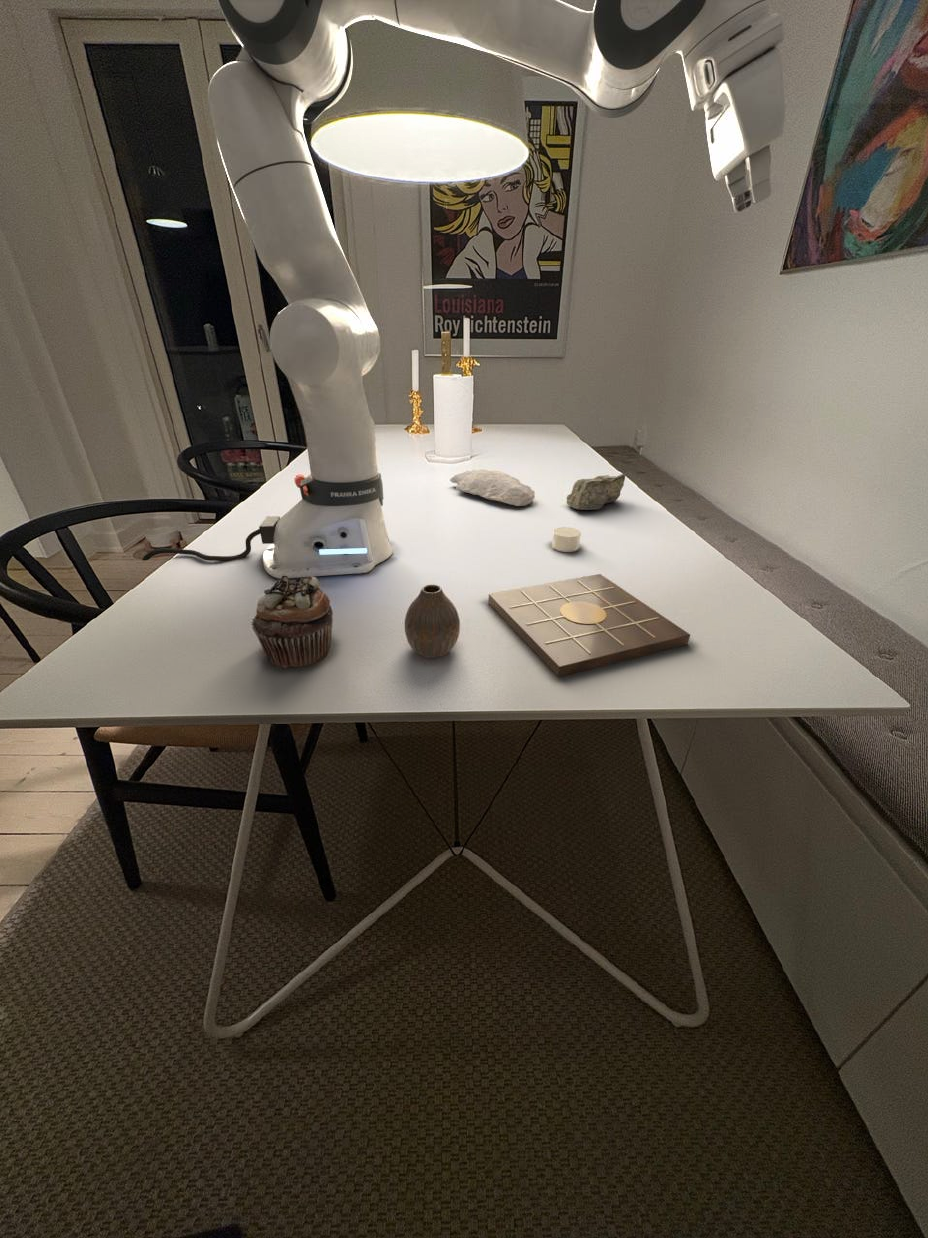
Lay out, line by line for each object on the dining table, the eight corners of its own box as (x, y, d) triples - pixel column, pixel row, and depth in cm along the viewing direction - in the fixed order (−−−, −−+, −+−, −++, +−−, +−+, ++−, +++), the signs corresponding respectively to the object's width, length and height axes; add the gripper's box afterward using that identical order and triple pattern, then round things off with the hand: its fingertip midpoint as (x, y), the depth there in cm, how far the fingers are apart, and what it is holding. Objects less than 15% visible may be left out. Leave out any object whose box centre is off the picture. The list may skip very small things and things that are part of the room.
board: (558, 677, 61) (559, 666, 60) (488, 602, 77) (488, 593, 76) (687, 644, 68) (690, 633, 67) (598, 582, 83) (600, 573, 83)
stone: (438, 488, 130) (504, 514, 113) (437, 467, 127) (505, 490, 110) (484, 477, 138) (553, 499, 122) (485, 456, 136) (555, 476, 119)
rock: (592, 474, 125) (631, 470, 119) (595, 501, 128) (633, 499, 121) (554, 485, 114) (595, 481, 107) (557, 515, 116) (597, 513, 109)
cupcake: (337, 627, 70) (328, 560, 65) (336, 668, 62) (326, 594, 57) (264, 634, 68) (249, 565, 63) (253, 676, 60) (235, 602, 55)
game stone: (560, 553, 94) (562, 538, 92) (547, 544, 98) (548, 529, 96) (583, 549, 95) (586, 534, 94) (569, 540, 99) (571, 525, 98)
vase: (416, 670, 62) (413, 606, 57) (399, 641, 67) (395, 581, 63) (468, 657, 64) (469, 596, 60) (447, 631, 70) (447, 572, 65)
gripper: (687, 109, 68) (710, 226, 74) (717, 53, 51) (742, 210, 57) (739, 77, 65) (758, 201, 71) (788, 7, 49) (807, 177, 54)
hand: (752, 205), depth 64 cm, fingers open, 8 cm apart
